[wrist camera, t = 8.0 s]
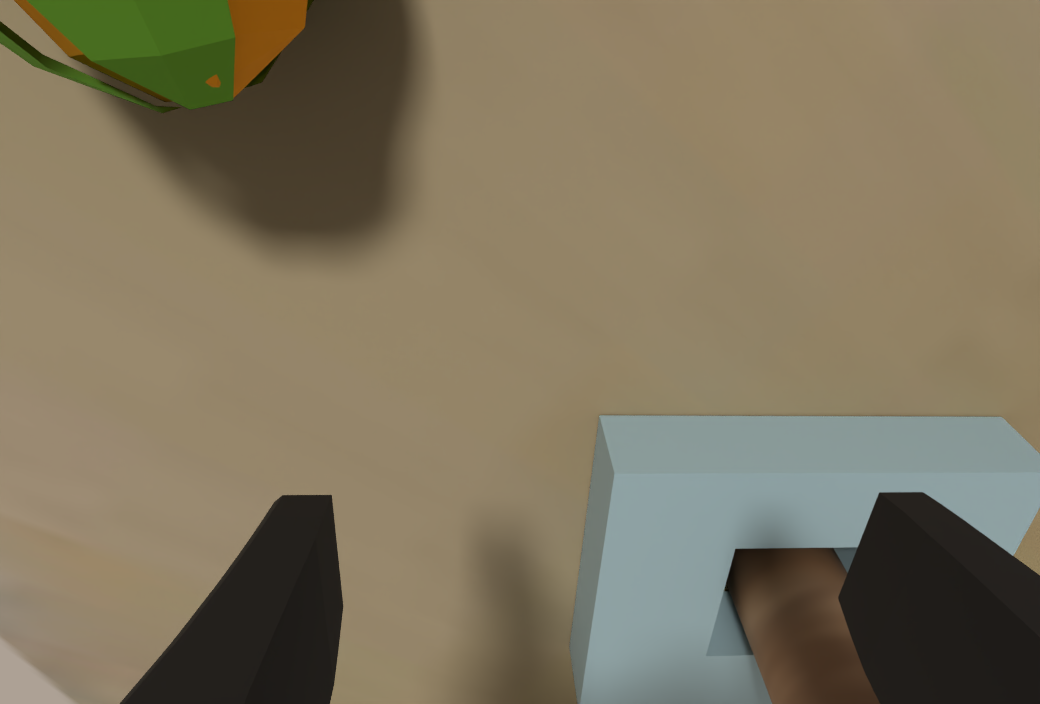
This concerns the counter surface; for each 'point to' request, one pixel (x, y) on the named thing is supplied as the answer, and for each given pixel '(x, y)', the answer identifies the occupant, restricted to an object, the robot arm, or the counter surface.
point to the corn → (165, 44)
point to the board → (753, 529)
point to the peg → (798, 625)
